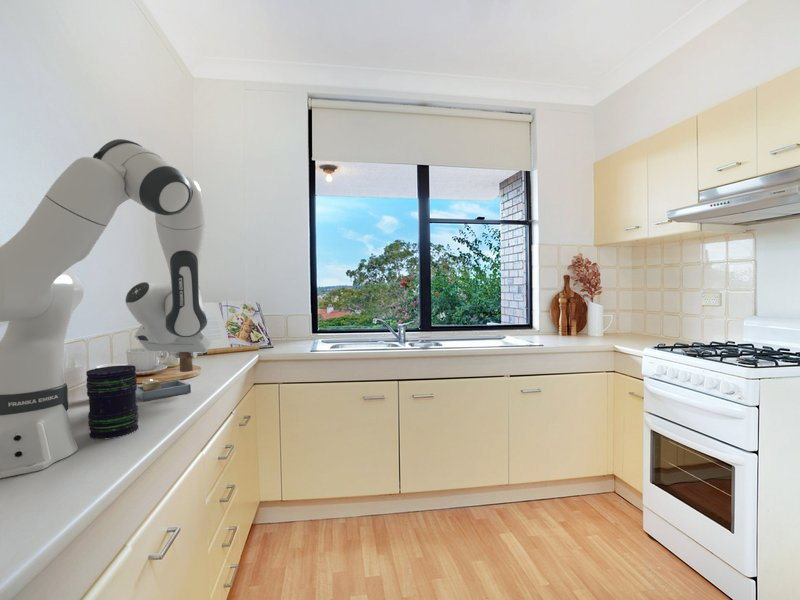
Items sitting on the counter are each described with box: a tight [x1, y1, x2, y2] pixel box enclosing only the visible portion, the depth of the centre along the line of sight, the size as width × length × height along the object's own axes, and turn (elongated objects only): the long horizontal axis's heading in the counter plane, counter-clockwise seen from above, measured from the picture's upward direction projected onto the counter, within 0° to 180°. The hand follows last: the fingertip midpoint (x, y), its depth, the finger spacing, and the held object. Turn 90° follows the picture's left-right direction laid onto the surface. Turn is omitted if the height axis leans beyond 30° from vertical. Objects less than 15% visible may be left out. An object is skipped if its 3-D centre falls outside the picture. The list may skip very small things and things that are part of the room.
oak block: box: [142, 379, 162, 392], centre depth 133 cm, size 4×4×4 cm
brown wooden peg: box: [179, 352, 194, 373], centre depth 136 cm, size 4×4×8 cm
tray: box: [136, 379, 192, 402], centre depth 137 cm, size 14×11×3 cm
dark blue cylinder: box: [85, 364, 139, 440], centre depth 101 cm, size 10×10×15 cm
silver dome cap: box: [141, 378, 154, 385], centre depth 136 cm, size 3×3×4 cm
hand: (187, 356), depth 136 cm, fingers closed on brown wooden peg, 4 cm apart
